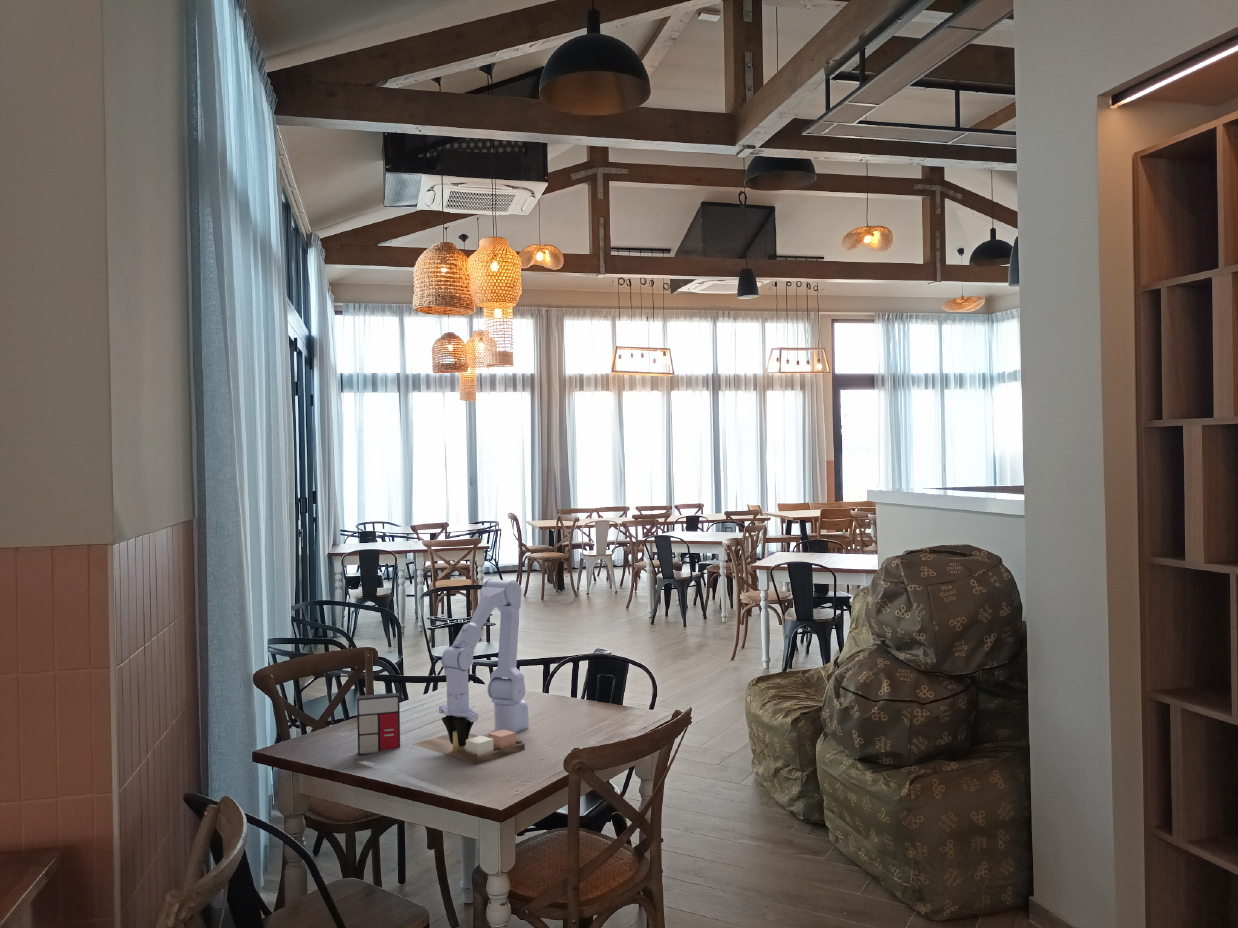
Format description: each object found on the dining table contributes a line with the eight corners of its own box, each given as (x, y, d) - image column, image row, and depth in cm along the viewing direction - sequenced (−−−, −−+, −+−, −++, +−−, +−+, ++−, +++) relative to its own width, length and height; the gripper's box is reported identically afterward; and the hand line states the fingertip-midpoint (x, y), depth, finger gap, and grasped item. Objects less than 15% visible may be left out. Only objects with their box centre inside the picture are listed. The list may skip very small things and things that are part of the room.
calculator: (357, 756, 232) (356, 699, 233) (358, 751, 236) (357, 695, 237) (400, 751, 235) (399, 695, 235) (400, 747, 239) (399, 692, 240)
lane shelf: (460, 734, 251) (460, 723, 251) (524, 752, 231) (524, 741, 232) (413, 747, 239) (412, 736, 239) (476, 768, 220) (476, 756, 220)
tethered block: (463, 746, 235) (462, 728, 235) (493, 756, 226) (493, 736, 226) (447, 751, 231) (447, 732, 231) (478, 761, 222) (477, 741, 222)
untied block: (503, 745, 235) (503, 729, 235) (515, 749, 231) (515, 732, 231) (489, 750, 231) (488, 733, 231) (501, 754, 228) (500, 736, 228)
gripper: (429, 691, 234) (430, 742, 234) (462, 699, 224) (463, 752, 224) (450, 686, 239) (451, 736, 239) (483, 694, 229) (485, 746, 229)
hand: (458, 744), depth 232 cm, fingers closed on tethered block, 3 cm apart
